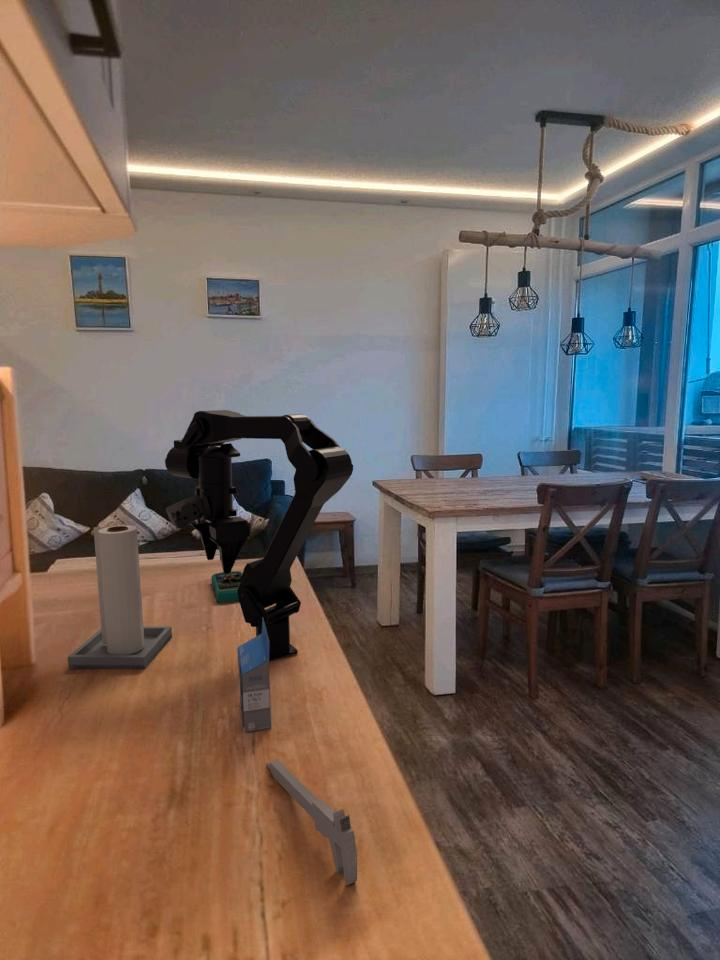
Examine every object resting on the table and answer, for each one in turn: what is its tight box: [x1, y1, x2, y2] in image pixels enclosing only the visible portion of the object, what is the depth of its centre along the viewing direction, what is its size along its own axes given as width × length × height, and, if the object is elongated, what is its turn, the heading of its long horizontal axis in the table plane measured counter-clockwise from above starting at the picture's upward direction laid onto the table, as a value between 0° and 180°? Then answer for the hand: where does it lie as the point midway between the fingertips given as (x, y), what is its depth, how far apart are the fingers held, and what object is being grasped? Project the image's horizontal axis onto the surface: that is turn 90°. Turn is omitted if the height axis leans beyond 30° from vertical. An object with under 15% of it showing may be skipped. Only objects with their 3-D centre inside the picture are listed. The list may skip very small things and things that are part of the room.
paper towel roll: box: [93, 525, 145, 655], centre depth 99 cm, size 7×6×21 cm
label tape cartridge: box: [237, 617, 272, 734], centre depth 80 cm, size 9×4×12 cm, turn 15°
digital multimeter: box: [210, 570, 243, 604], centre depth 132 cm, size 7×15×3 cm, turn 19°
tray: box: [67, 625, 173, 670], centre depth 101 cm, size 13×13×2 cm
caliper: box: [266, 759, 358, 886], centre depth 61 cm, size 20×1×6 cm, turn 30°
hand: (218, 566), depth 106 cm, fingers open, 9 cm apart
